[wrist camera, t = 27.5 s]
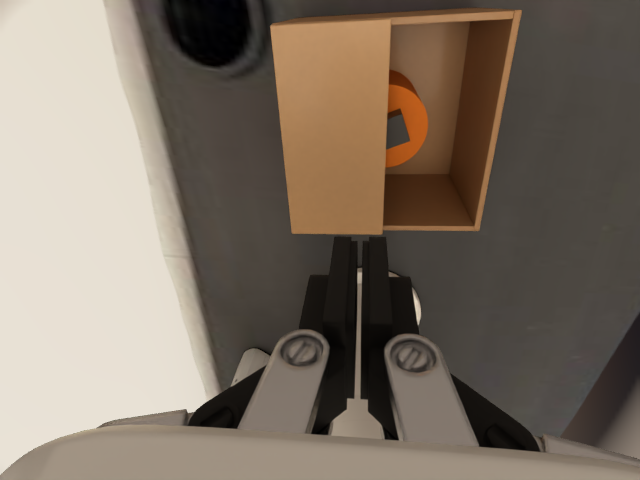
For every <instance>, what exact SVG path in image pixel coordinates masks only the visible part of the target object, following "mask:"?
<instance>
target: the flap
mask: <svg viewBox="0 0 640 480" xmlns="http://www.w3.org/2000/svg"><path fill="white" fill-rule="evenodd" d="M270 29H271V39H272V48H273V58H274V67H275V77H276V86H277V96H278V106H279V115H280V125H281V134H282V144H283V153H284V163H285V172H286V182H287V191H288V201H289V210H290V220H291V229H292V234H383V211H384V186H385V162H386V137H387V112H388V88H389V63H390V39H391V19H375V20H356V21H338V22H320V23H302V24H284V25H271V26H270Z"/></svg>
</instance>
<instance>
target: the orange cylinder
mask: <svg viewBox="0 0 640 480" xmlns="http://www.w3.org/2000/svg"><path fill="white" fill-rule="evenodd" d="M427 130H428V117H427V112H426V109H425V107H424V105H423V103H422V101H421V99H420V97H419V96H418V94H417V92H416V90H415V88H414V86H413V84H412V83H411V82H410V80H409V79H408V78H407V77H405V76H404V75H403V74H401V73H399V72H397V71H394V70H389V88H388V112H387V137H386V162H385V168H388V167H393V166H397V165H400V164H402V163H404V162H406V161H408V160H409V159H410V158H412V157H413V156H414V155H415V154H416V153H417V152H418V150H419V149H420V148H421V146H422V145H423V143H424V141H425V138H426V135H427Z"/></svg>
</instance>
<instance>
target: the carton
mask: <svg viewBox="0 0 640 480" xmlns="http://www.w3.org/2000/svg"><path fill="white" fill-rule="evenodd" d="M521 13H522V10H511V9H492V8H460V9H442V10H424V11H407V12H389V13H372V14H354V15H336V16H319V17H301V18H295V19H291V20H287V21H282V22H278V23H274V24H272V25H284V24H302V23H320V22H338V21H356V20H375V19H391V39H390V63H389V70H394V71H397V72H399V73H401V74H403V75H404V76H405V77H407V78H408V79H409V80H410V82H411V83H412V84H413V86H414V88H415V90H416V92H417V94H418V96H419V97H420V99H421V101H422V103H423V105H424V107H425V109H426V112H427V117H428V130H427V135H426V138H425V141H424V143H423V145H422V146H421V148H420V149H419V150H418V152H417V153H416V154H415V155H414V156H413V157H412V158H410V159H409V160H408V161H406V162H404V163H402V164H400V165H397V166H393V167H388V168H385V186H384V211H383V230H441V231H473V230H474V231H479V228H480V223H481V218H482V213H483V208H484V203H485V197H486V192H487V187H488V182H489V177H490V172H491V167H492V161H493V156H494V151H495V146H496V141H497V136H498V131H499V126H500V120H501V115H502V110H503V105H504V100H505V95H506V90H507V84H508V79H509V74H510V69H511V64H512V59H513V54H514V49H515V43H516V38H517V33H518V28H519V23H520V18H521Z"/></svg>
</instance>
